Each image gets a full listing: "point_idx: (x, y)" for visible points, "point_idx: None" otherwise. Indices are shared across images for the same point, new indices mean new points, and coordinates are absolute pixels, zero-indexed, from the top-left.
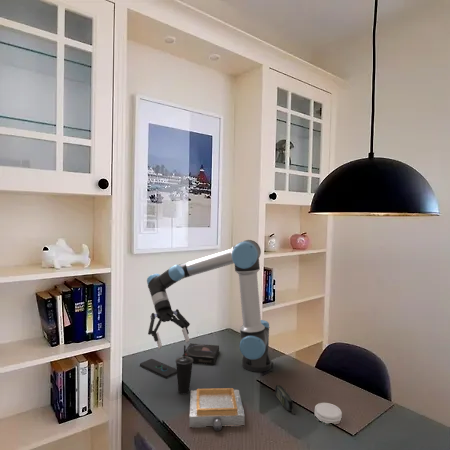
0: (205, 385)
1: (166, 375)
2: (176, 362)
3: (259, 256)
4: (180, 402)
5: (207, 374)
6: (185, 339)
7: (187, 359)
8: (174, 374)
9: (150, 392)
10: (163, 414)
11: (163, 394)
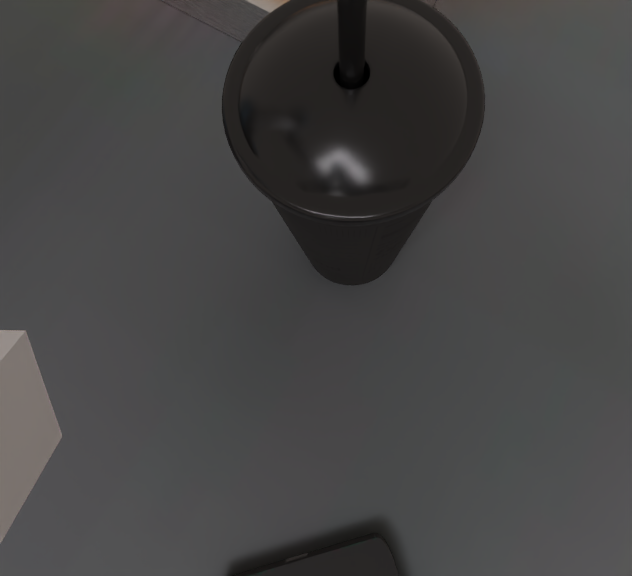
0: (152, 225)
1: (377, 553)
2: (484, 97)
3: None
4: None
5: None
6: (19, 483)
7: (335, 21)
8: (278, 562)
9: (612, 372)
10: (618, 49)
11: (521, 282)
